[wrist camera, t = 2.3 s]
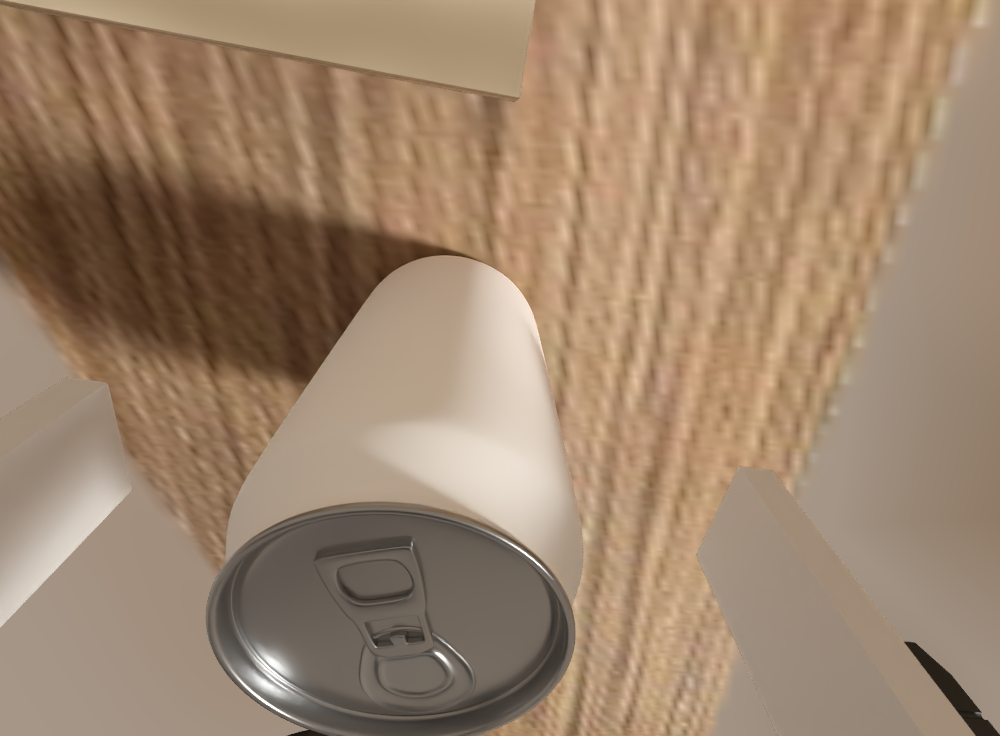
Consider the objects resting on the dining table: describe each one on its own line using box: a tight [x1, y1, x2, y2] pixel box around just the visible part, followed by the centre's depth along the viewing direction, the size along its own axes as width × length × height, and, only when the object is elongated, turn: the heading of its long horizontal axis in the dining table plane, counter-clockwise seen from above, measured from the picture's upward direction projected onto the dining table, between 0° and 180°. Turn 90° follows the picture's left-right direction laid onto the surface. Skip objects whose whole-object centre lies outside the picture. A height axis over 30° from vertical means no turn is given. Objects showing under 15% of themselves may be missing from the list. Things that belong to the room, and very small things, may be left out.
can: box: [206, 255, 584, 736], centre depth 13 cm, size 6×6×12 cm
